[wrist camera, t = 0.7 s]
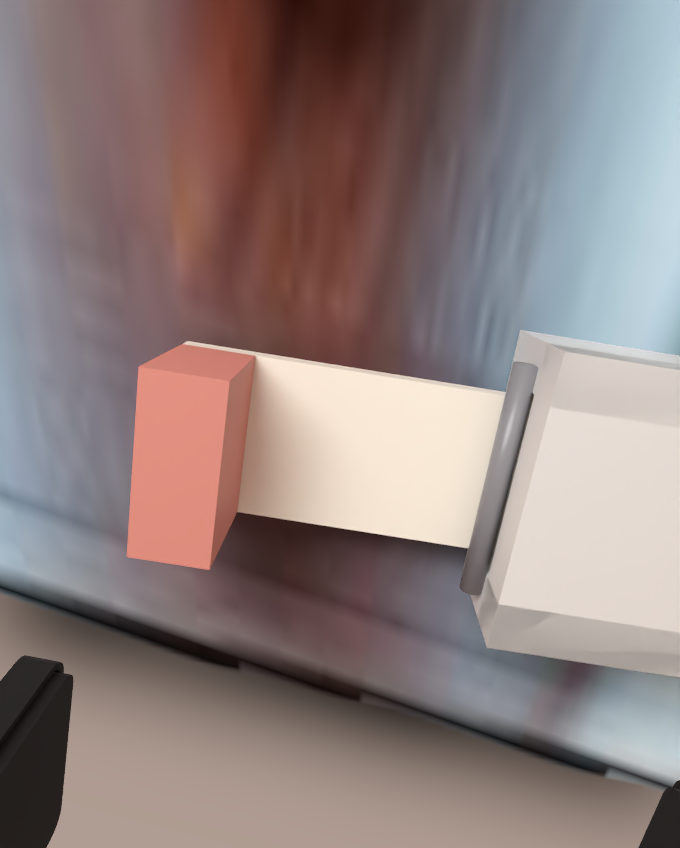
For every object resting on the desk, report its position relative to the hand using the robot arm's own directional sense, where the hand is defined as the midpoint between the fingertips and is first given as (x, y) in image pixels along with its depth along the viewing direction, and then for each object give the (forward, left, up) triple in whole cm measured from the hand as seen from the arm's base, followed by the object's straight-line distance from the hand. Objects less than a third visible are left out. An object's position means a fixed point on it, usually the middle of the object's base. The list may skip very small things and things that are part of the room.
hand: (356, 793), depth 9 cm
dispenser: (-13, 0, -19) cm, 23 cm away
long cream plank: (-5, 0, -18) cm, 18 cm away
